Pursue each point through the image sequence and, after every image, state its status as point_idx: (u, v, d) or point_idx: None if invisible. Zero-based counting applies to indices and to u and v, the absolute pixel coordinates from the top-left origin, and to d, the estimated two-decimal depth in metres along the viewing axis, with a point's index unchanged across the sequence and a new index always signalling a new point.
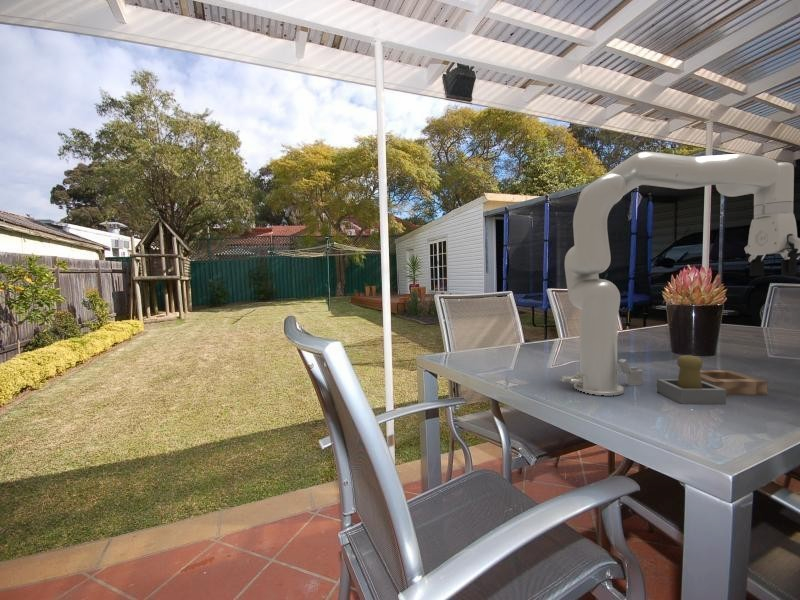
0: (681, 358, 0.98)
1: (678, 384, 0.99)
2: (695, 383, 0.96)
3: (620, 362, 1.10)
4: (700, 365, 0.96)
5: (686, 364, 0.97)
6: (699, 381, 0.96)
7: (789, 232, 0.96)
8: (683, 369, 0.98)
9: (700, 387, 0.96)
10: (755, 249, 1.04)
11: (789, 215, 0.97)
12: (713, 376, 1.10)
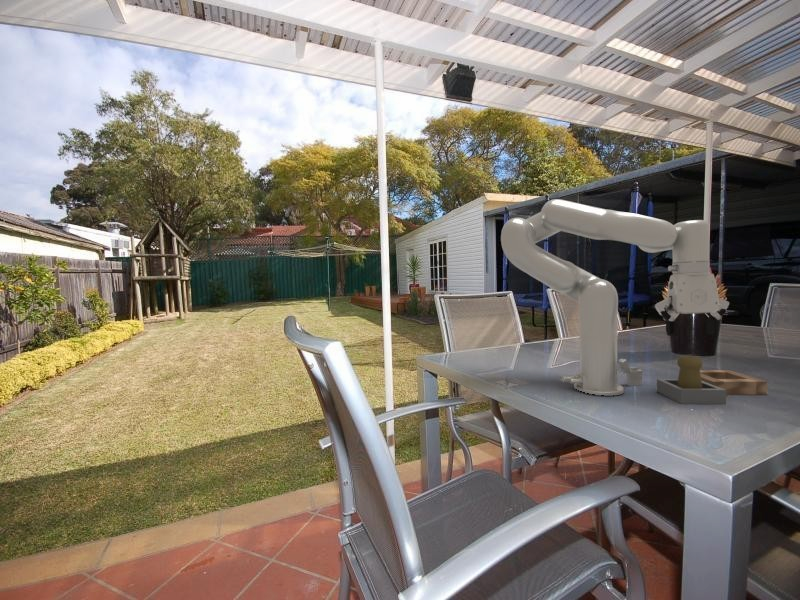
0: (681, 358, 0.98)
1: (678, 384, 0.99)
2: (695, 383, 0.96)
3: (620, 362, 1.10)
4: (700, 365, 0.96)
5: (686, 364, 0.97)
6: (699, 381, 0.96)
7: None
8: (683, 369, 0.98)
9: (700, 387, 0.96)
10: (690, 308, 0.95)
11: None
12: (713, 376, 1.10)
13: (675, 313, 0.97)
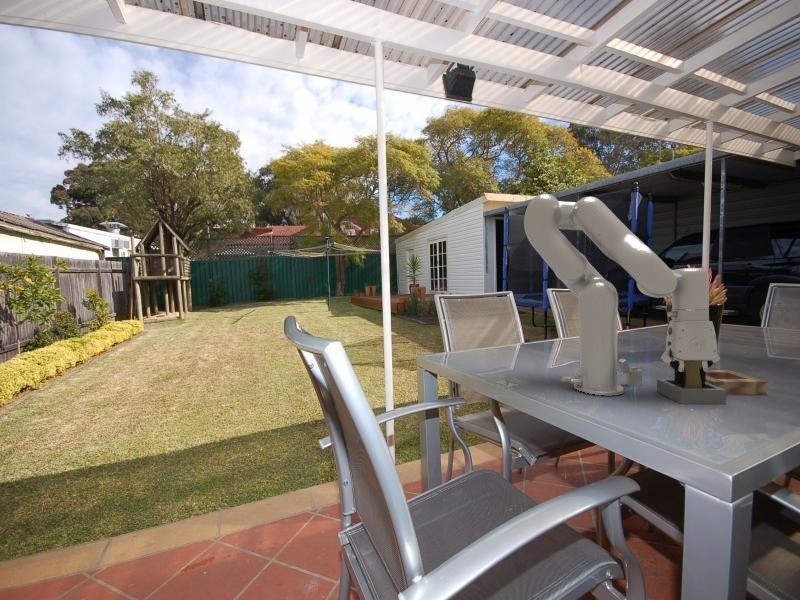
0: None
1: (678, 384, 0.99)
2: (694, 383, 0.96)
3: (620, 362, 1.10)
4: (700, 365, 0.96)
5: (686, 364, 0.97)
6: (699, 381, 0.96)
7: None
8: None
9: (700, 387, 0.96)
10: (689, 355, 0.96)
11: None
12: (713, 376, 1.10)
13: (681, 363, 0.97)
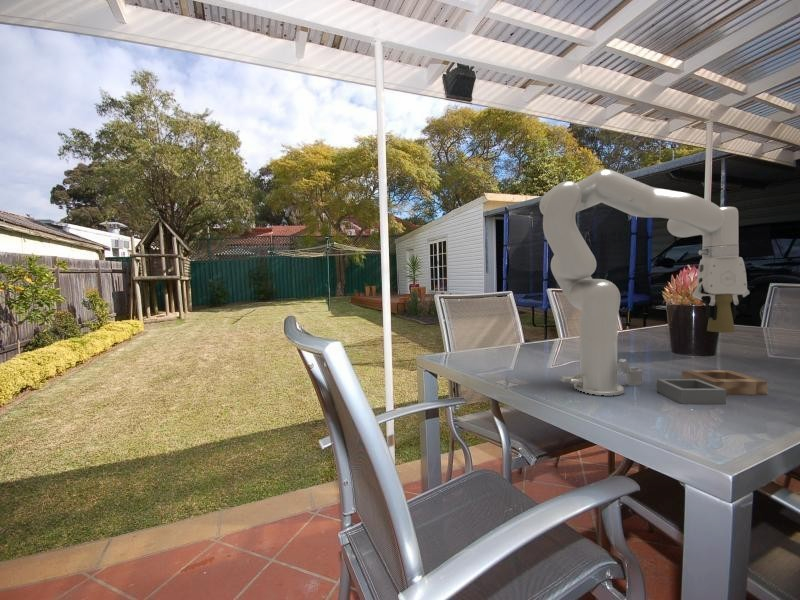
0: None
1: None
2: (726, 315, 1.02)
3: (620, 362, 1.10)
4: (731, 298, 1.02)
5: (717, 298, 1.03)
6: (730, 314, 1.02)
7: None
8: None
9: (731, 319, 1.02)
10: (720, 289, 1.02)
11: None
12: (713, 376, 1.10)
13: (712, 297, 1.03)
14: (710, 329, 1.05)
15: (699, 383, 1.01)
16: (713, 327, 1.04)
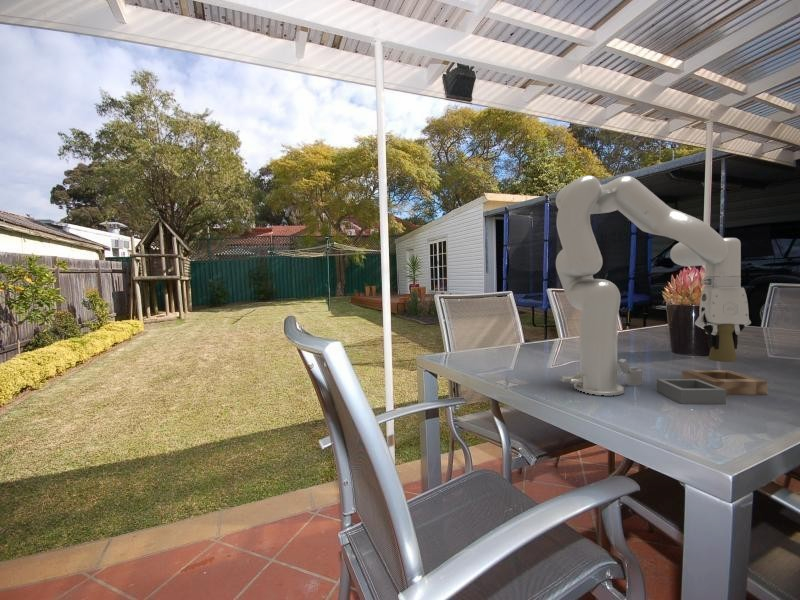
0: None
1: None
2: (728, 345, 1.03)
3: (620, 362, 1.10)
4: (733, 328, 1.03)
5: (719, 328, 1.04)
6: (732, 343, 1.03)
7: None
8: None
9: (733, 349, 1.03)
10: (722, 319, 1.03)
11: None
12: (713, 376, 1.10)
13: (714, 327, 1.04)
14: (712, 358, 1.06)
15: (699, 383, 1.01)
16: (715, 356, 1.05)
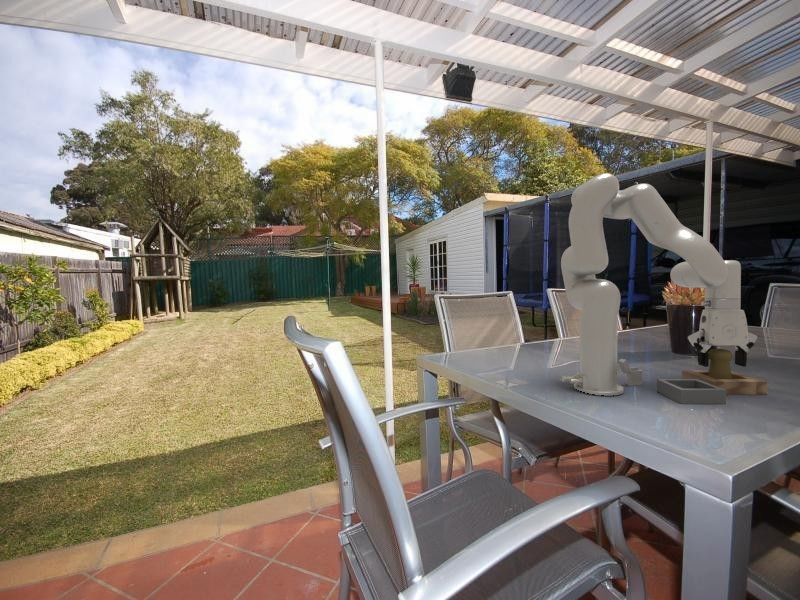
0: (711, 351, 1.06)
1: (708, 375, 1.07)
2: (724, 374, 1.04)
3: (620, 362, 1.10)
4: (730, 358, 1.03)
5: (716, 356, 1.04)
6: (729, 372, 1.04)
7: None
8: (713, 361, 1.05)
9: (730, 378, 1.04)
10: (722, 341, 1.03)
11: None
12: None
13: (707, 345, 1.05)
14: None
15: (699, 383, 1.01)
16: None
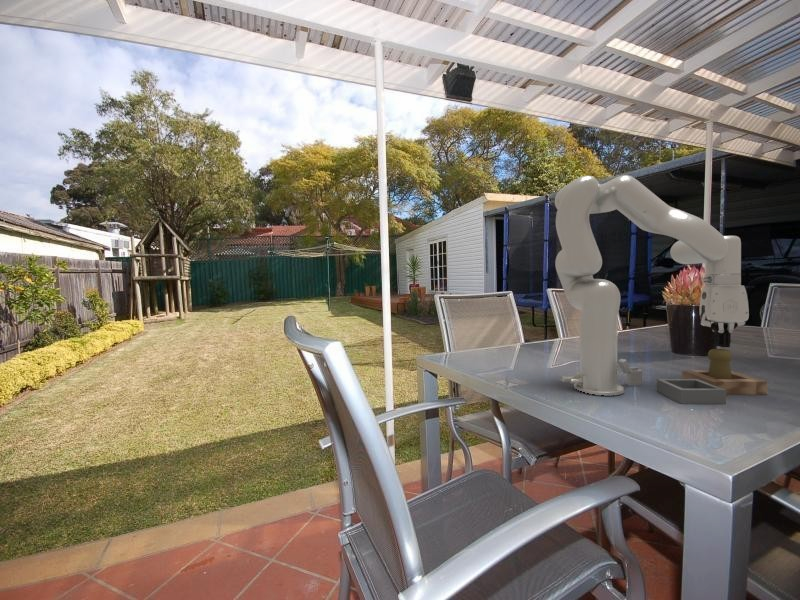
0: (711, 351, 1.06)
1: (708, 375, 1.07)
2: (724, 374, 1.04)
3: (620, 362, 1.10)
4: (730, 358, 1.03)
5: (716, 356, 1.04)
6: (729, 372, 1.04)
7: None
8: (713, 361, 1.05)
9: (730, 378, 1.04)
10: (722, 317, 1.03)
11: None
12: None
13: (719, 325, 1.04)
14: None
15: (699, 383, 1.01)
16: None
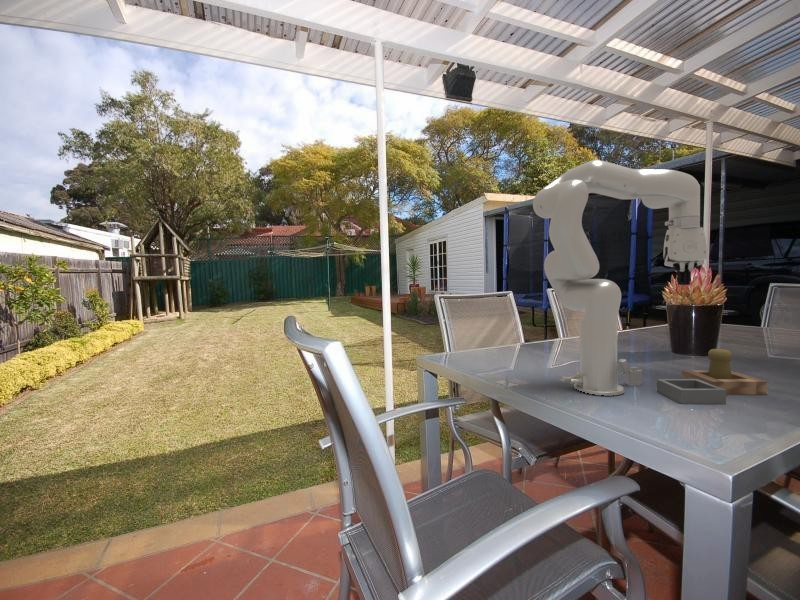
0: (711, 351, 1.06)
1: (708, 375, 1.07)
2: (724, 374, 1.04)
3: (620, 362, 1.10)
4: (730, 358, 1.03)
5: (716, 356, 1.04)
6: (729, 372, 1.04)
7: None
8: (713, 361, 1.05)
9: (730, 378, 1.04)
10: (683, 256, 1.12)
11: None
12: None
13: (680, 264, 1.14)
14: None
15: (699, 383, 1.01)
16: None
